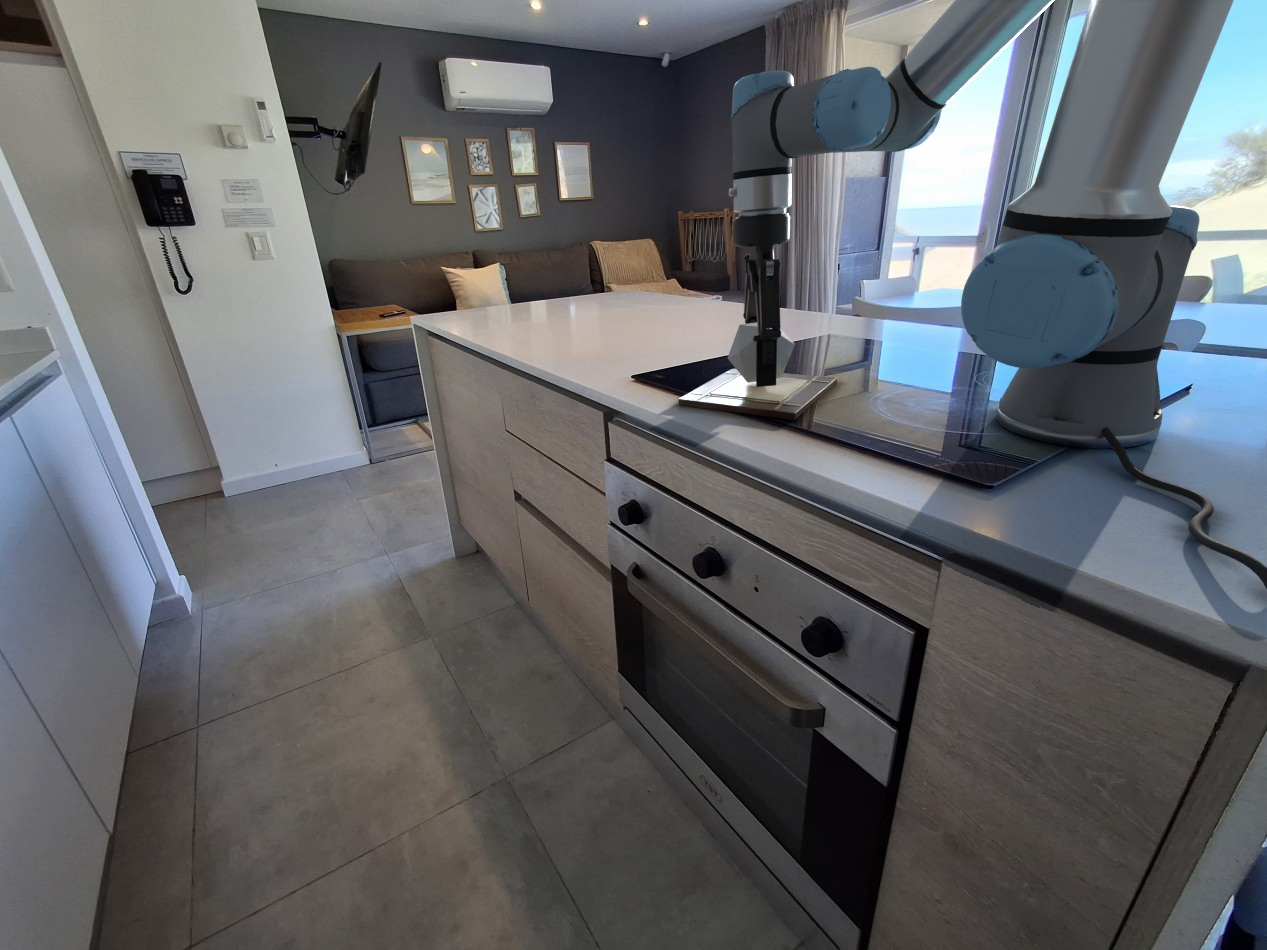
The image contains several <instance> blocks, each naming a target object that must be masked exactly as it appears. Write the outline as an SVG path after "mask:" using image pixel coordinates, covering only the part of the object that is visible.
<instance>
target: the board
mask: <svg viewBox="0 0 1267 950" xmlns="http://www.w3.org/2000/svg"><path fill="white" fill-rule="evenodd" d="M837 384H838V377H836V376H835V377H834V376H824V375H823V376H822V375H810V374H809V375H808V374H798V373H788V372H787V373H785V372H783V374H782V377H781V378H776V386H762V387H757V386H756V381H755V382H748V383H747V381H746V380H745V379H744V378H743V376H742V375H741V374H740V373H739V372H738V370H737V369H736V368H730V369H729V370H727V371H725V372H724V373H721V374H719V375H718V376H716V377H714V378H713V379H711V380H709V381H707V382H706V383H704V384H702V385H700V386H699V387H697V388H695V389H693V390H692V391H690V392H688V393H686V394H684V395H683V396H681V397H679V398H677V400H678V406H685V407H691V408H699V409H706V410H707V409H708V410H715V411H722V412H729V413H737V414H745V415H753V416H759V417H768V418H775V419H783V420H789V421H790V420H791V421H796V420H797V419H798V418H799V417H800V416H801V415H803V414H804V413H805V412H806V411H807V410H808V409H810V408H811V407H812V406H813V405H814V404H815V403H817V402H818V401H819V400H820V399H821V398H822V397H823V396H825V395H826V394H827V393H829V391H830V390H831V389H833V388H834V387H835V386H836V385H837Z"/></svg>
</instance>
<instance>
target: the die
mask: <svg viewBox="0 0 1267 950" xmlns="http://www.w3.org/2000/svg"><path fill="white" fill-rule="evenodd" d="M766 329H771V328H766ZM754 336H758V326H757V323H750V324H746V323H744V324H743V323H742V324H739V325H738V327H737V330H736V333H735V336H734V339H733V342H732V345H731V347H730V350H729V353H728V356H727V360H728V361H729V363H731V364H732V366H733V367H734V369H737V370H738V372H739V373H740V374H741V375H742V376H743V378H744V379H745V380H746V381H747V383H748V382H755V381H756V341H755V342H753V337H754ZM795 346H796V343H794V341H793V340H791V338H790V337H789V336H788V335H787V334H786V332H784V331H783V330H782V329H781V337H780V338H778V339H777V370H776V378H781V377H782V374H783V373H785V369H786V367H787V365H788V363H789V360H790V358H791V355H792V353H793V350H794V348H795Z"/></svg>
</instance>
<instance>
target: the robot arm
mask: <svg viewBox="0 0 1267 950" xmlns="http://www.w3.org/2000/svg"><path fill="white" fill-rule="evenodd" d="M1054 1H1055V0H954V1H952V3H951V4H950V6H948V8H947V9H946V10H945V11H944V12H943V14H942V15H941V16H940V17H939V18H938V19H937V20H936V22H934V24H932V26H931V27H930V28H929V29H928V30H927V32H925V34H924V35H923V37H921V38H920V40H919V41H918V42H917V43H916V44H915V45H914V46H913V48H912V49H911V50H909V52H908V53H907V54H906V55H905V56H904V57H903V59H901V61H899V63H898V64H897V65H896V66H895V67H894V68H893V70H891V72H890V73H889V74H888V75H887V76H886V77H885V76H883V75H882V72H881V70H880V69H879V68H877V67H874V66H863V67H859V68H853V69H850V68H846V69H841V70H839V71H838V72H837V73H834V74H831V75H826V76H823V77H820V78H816V79H813V80H810V81H807V82H803V83H801V84H796V85H794V84H795V83H794V75H792V73H791V72H789V71H786V70H767V71H762V72H759V73H752V74H748V75H745V76H743V77H741V78H739V79H737V80H738V81H736V82H735V84H734V86H733V89H732V103H731V116H730V125H731V141H732V143H731V145H732V180H733V182H732V185H733V187H731V188H729V190H728V196H729V197H734V198H733V199H732V202H733V203H732V206H733V207H732V208H733V213H737V217H734V220H732V239H733V240H732V241H733V242H732V243H733V245H734V246H735V247H737V248H749V253H746V254H745V255H744V259H743V260H744V296H743V297H744V299H743V315H742V316H743V319H744V324H750V323H757V326H758V336H754V337H753V342H755V341H756V386H757V387H762V386H776V370H777V339H778V338H780V337H781V330H782V328H781V298H780V297H781V295H780V294H781V293H780V266H781V261H780V259H779V258H775V253H774V246H775V245H783V244H786V243H788V242H789V240H790V235H791V234H790V231H791V215H790V214H789V212H787V209H790V208H791V206H792V179H793V178H792V166H793V163H792V162H793V159H797V158H800V157H809V156H815V155H823V154H833V153H835V154H839V153H863V152H887V153H898V152H903V151H906V150H910V149H911V150H912V149H914V148H916V147H919V146H920V145H922V144H924V143H925V142H926V141H927V140H928V139H929V138H930V137H932V135H933V133H934V132H935V131H936V128H937V126H938V124H939V122H940V121H941V118H942V117H941V116H942V112H943V109H944V108H945V107H946V106H947V105H948V104H949V103H950V102H951V101H952V100H953V99H955V97H956V96H957V95H958V94H959V93H960V92H961V91H963V90H964V89H965V87H966V86H968V84H970V83H971V82H972V81H973V80H974V79H975V78H976V77H977V76H978V75H979V74H980V73H981V72H982V71H983V70H984V69H985V68H986V67H987V66H988V65H989V64H990V63H991V62H992V61H993V60H994V59H995V58H997V57H998V56H999V55H1000V54H1001V53H1002V52H1003V51H1004V50H1005V49H1006V48H1007V47H1008V46H1009V45H1010V44H1011V43H1012V42H1013V41H1014V40H1015V39H1017V37H1018V36H1019V35H1020V34H1021V33H1023V32H1024V30H1026V29H1027V27H1029V26H1030V25H1031V24H1032V22H1034V21H1035V20H1037V18H1038V17H1039V16H1040V15H1041V14H1042V13H1043V12H1044V11H1045V10H1046V9H1047V8H1048V7H1049V6H1050V5H1051V4H1052V3H1053V2H1054ZM1234 1H1235V0H1090V2H1089V5H1088V8H1087V11H1086V15H1085V18H1084V21H1083V25H1082V28H1081V31H1080V34H1079V37H1078V41H1077V44H1076V46H1075V50H1074V53H1073V57H1072V59H1071V62H1070V63H1071V64H1070V67H1069V70H1068V73H1067V77H1066V79H1065V83H1064V86H1063V90H1062V93H1061V96H1060V100H1059V102H1058V105H1057V109H1056V113H1055V116H1054V120H1053V122H1052V125H1051V129H1050V131H1049V135H1048V139H1047V142H1046V144H1045V148H1044V152H1043V154H1042V158H1041V160H1040V165H1039V168H1038V170H1037V174H1036V177H1035V180H1034V183H1032V185H1031V187H1029V188H1028V189H1027V190H1026V191H1025V192H1023V193H1022V194H1021V195H1019V196H1018V197H1017V198H1015V199H1014V200H1013V201H1011V202H1010V203H1009V204H1008V206H1007V208H1006V212H1005V214H1004V219H1003V222H1002V225H1001V228H1000V231H999V235H998V238H997V242H996V245H995V247H994V248H992V250H991V251H989V253H987V254H986V255H985V256H983V257H982V259H981V260H980V261H979V262H978V263H977V264H976V265H975V266H974V268H973V269H972V270H971V272H970V273H969V275H968V278H967V279H966V281H965V284H964V286H963V289H962V293H961V300H960V312H961V319H962V322H963V326H964V329H965V331H966V333H967V335H969V336H970V338H971V340H972V341H973V343H975V346H976V347H977V348H978V349H979V351H981V352H982V353H983V354H985V355H986V356H988V357H989V358H991V360H994V361H996V362H998V363H1001V364H1003V365H1006V366H1009V367H1013V368H1017V371H1016V372H1015V374H1014V375H1013V377H1012V379H1011V381H1010V382H1009V384H1008V386H1007V387H1006V389H1005V391H1004V392H1003V394H1002V395H1001V397H1000V399H999V402H998V405H997V409H996V414H995V420H996V421H997V423H998V424H999V425H1000V426H1002V427H1003V428H1005V429H1006V430H1008V431H1011V432H1013V433H1014V434H1018V435H1019V436H1023V437H1026V438H1030V439H1033V440H1037V441H1041V442H1046V443H1050V444H1056V445H1062V446H1069V447H1078V448H1089V449H1091V448H1092V449H1113V451H1114V453H1115V454H1116V455H1117V458H1118V459H1119V462H1120V464H1121V466H1122V468H1123V469H1124V470H1125V471H1126V472H1127V473H1128V474H1129V475H1131V477H1133V478H1135V479H1136V480H1138V481H1140V482H1142V483H1144V484H1147V485H1148V486H1152V487H1154V488H1157V489H1160V490H1164V491H1167V492H1170V493H1173V494H1176V495H1179V496H1182V497H1185V498H1186V499H1189V500H1191V501H1193V502H1195V503H1196V504H1198V506H1200V507H1201V509H1200V511H1199V512H1198V513H1197V514H1195V515H1194V516H1193V517H1192V518H1191V519H1190V520H1189V524H1188V527H1187V528H1188V531H1189V534H1190V535H1191V537H1192V538H1193V539H1194V540H1195V541H1196V542H1198V543H1199V544H1200V545H1203V547H1205V548H1207V549H1209V550H1212V551H1214V552H1217V553H1219V554H1221V555H1223V556H1226V557H1229V558H1231V559H1233V560H1234V561H1237V562H1239V563H1240V564H1242V565H1244V566H1245V567H1247V568H1248V569H1250V570H1251V571H1252V572H1253V573H1254V574H1255V575H1256V576H1257V577H1258V578H1259V580H1260V581H1261V582H1262V584H1263V586H1264V587H1265V589H1266V590H1267V565H1265V564H1264V563H1262V561H1260V560H1259V559H1257V558H1255V557H1254V556H1252V555H1250V554H1248V553H1247V552H1245V551H1242V550H1240V549H1238V548H1235V547H1232V546H1230V545H1228V544H1225V543H1223V542H1221V541H1219V540H1216V539H1214V538H1212V537H1210V536H1209V535H1207V534H1206V533H1205V532H1204V530H1203V529H1202V526H1203V524H1205V522H1207V521H1208V520H1209V519H1210V518H1211V517H1212V516H1213V513H1214V511H1215V507H1214V504H1213V503H1212V502H1211V501H1210V499H1208V498H1207V497H1206V496H1205V495H1203V494H1201V493H1199V492H1197V491H1194V490H1193V489H1190V488H1186V487H1183V486H1181V485H1178V484H1173V483H1170V482H1168V481H1164V480H1161V479H1158V478H1156V477H1153V476H1150V475H1148V474H1146V473H1144V472H1143V471H1141V470H1139V469H1138V468H1137V467H1136V466H1135V465H1134V464H1133V462H1132V461H1131V459H1130V458H1129V455H1128V453H1127V451H1126V449H1125V448H1129V447H1136V446H1142V445H1145V444H1149V443H1150V442H1153V441H1154V440H1156V439H1157V437H1159V436H1158V435H1159V433H1160V429H1161V428H1162V427H1161V426H1162V423H1163V421H1162V420H1163V410H1162V407H1161V392H1160V391H1161V389H1160V382H1159V381H1160V380H1159V373H1158V362H1159V358H1160V355H1161V351H1162V348H1163V346H1164V343H1165V339H1166V337H1167V333H1168V330H1169V326H1170V323H1171V321H1172V320H1171V319H1172V317H1173V313H1174V310H1175V307H1176V304H1177V301H1178V298H1179V294H1180V291H1181V288H1182V284H1183V281H1184V278H1185V274H1186V271H1187V269H1188V265H1189V262H1190V260H1191V256H1192V252H1193V251H1194V250H1195V248H1196V247H1197V244H1198V237H1197V235H1198V231H1199V225H1200V215H1199V213H1198V212H1197V211H1196V210H1195V209H1193V208H1190V207H1187V206H1181V205H1180V206H1179V205H1169V204H1168V202H1167V200H1166V199H1165V198H1164V196H1163V194H1162V193H1161V189H1160V184H1161V181H1162V178H1163V176H1164V174H1165V172H1166V169H1167V167H1168V164H1169V162H1170V159H1171V157H1172V154H1173V152H1174V149H1175V147H1176V145H1177V142H1178V140H1179V137H1180V135H1181V132H1182V129H1183V127H1184V125H1185V123H1186V120H1187V117H1188V114H1189V112H1190V109H1191V107H1192V105H1193V102H1194V100H1195V97H1196V95H1197V93H1198V90H1199V87H1200V85H1201V82H1202V80H1203V77H1204V75H1205V73H1206V70H1207V68H1208V65H1209V63H1210V60H1211V59H1212V56H1213V53H1214V50H1215V48H1216V46H1217V43H1218V41H1219V39H1220V36H1221V33H1222V30H1223V29H1224V26H1225V23H1226V21H1227V19H1228V15H1229V13H1230V11H1231V9H1232V6H1233V3H1234ZM766 328H771V329H766Z"/></svg>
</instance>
